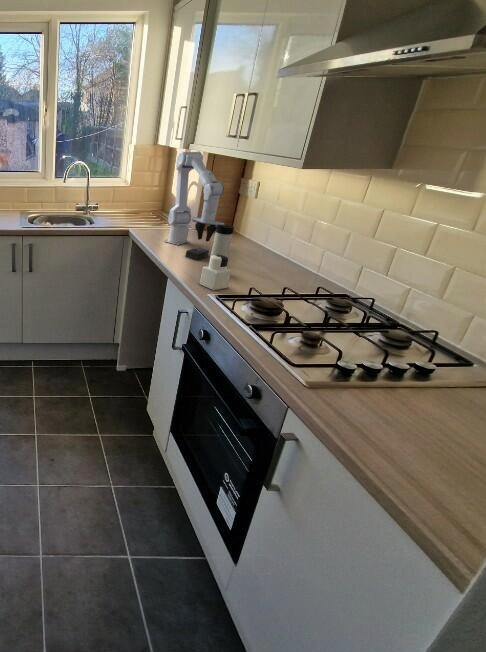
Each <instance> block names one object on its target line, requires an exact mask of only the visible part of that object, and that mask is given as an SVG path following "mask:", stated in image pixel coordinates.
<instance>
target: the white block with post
mask: <svg viewBox="0 0 486 652" xmlns="http://www.w3.org/2000/svg"><path fill="white" fill-rule="evenodd" d="M210 257H211V258H210ZM210 257H209V263H208V265H207V266H206V265H205V266H203V267H202V270H201V275H200V280H199V285H201V286H203V287H205V288H207V289H210V290H211V291H219V290H224V289H227V288H228V287H229V282H230V278H231V274H232V270H231V269H230V268H229V269H228V268H227V267H228V263H229V258H228V257H226V256H223V255H212V256H211V255H210Z"/></svg>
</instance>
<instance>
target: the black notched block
mask: <svg viewBox="0 0 486 652" xmlns="http://www.w3.org/2000/svg"><path fill="white" fill-rule="evenodd" d="M204 255H205V252H204V251H199V252H197V251H196V248H191V249H187V250H186V251H185V258H188V259H192V260H195V261H199V260H203V259H204V258H205V257H204Z"/></svg>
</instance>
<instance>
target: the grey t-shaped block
mask: <svg viewBox="0 0 486 652" xmlns="http://www.w3.org/2000/svg"><path fill="white" fill-rule="evenodd" d="M195 249H196V251H197V252H199V251H204V252H205V255H204V258H206V257H208V256H209V253H210V249H207V248H203V247H200V246H199V247H196V248H195Z"/></svg>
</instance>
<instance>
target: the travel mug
mask: <svg viewBox="0 0 486 652" xmlns="http://www.w3.org/2000/svg"><path fill="white" fill-rule="evenodd" d="M234 230H235V227H234V226H230V225H227V224H224V225H221V224H218V225H217V229H216V230H215V234H214V238H213V243H212V248H211V253H210V257H209V259H210V258H211V256H212V255H223V256H226V257H227V258H228V256H229V252H230V248H231V243H232V239H233V235H234Z"/></svg>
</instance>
